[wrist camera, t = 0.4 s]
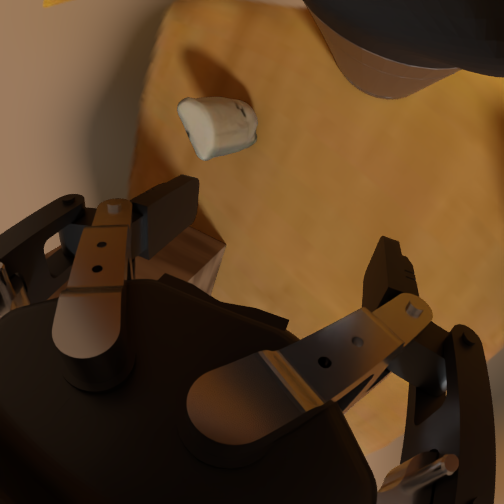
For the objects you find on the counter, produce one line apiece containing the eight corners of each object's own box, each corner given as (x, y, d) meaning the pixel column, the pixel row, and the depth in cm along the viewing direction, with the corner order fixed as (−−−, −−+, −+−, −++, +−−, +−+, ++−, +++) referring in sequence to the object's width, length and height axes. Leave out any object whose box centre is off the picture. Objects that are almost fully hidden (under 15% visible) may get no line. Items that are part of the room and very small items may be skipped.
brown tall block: (142, 202, 37) (-87, 350, 9) (226, 244, 35) (-9, 484, 7) (134, 271, 43) (-33, 414, 15) (205, 312, 41) (46, 505, 13)
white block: (205, 130, 30) (160, 137, 23) (226, 88, 27) (183, 83, 20) (249, 156, 29) (212, 170, 23) (273, 113, 27) (241, 112, 20)
